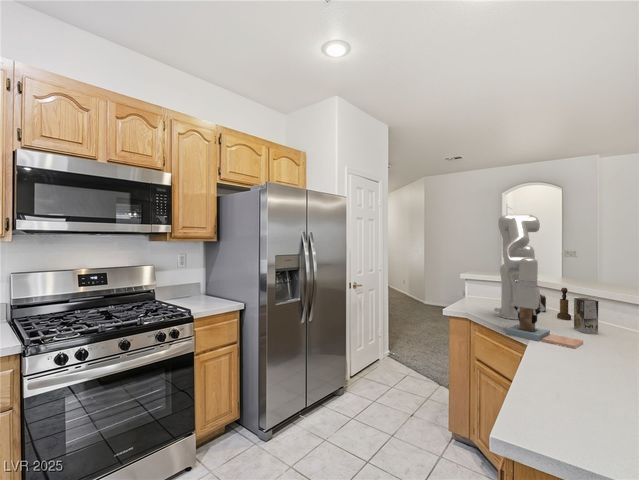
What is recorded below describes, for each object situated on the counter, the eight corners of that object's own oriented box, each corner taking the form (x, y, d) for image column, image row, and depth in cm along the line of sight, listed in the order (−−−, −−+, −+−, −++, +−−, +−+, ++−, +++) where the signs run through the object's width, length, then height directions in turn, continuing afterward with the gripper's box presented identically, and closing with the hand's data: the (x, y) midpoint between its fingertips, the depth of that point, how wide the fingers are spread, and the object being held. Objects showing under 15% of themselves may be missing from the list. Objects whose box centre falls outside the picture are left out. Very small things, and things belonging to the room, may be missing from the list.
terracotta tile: (542, 341, 145) (542, 338, 145) (551, 336, 153) (551, 334, 153) (574, 348, 136) (574, 345, 136) (583, 343, 143) (583, 340, 143)
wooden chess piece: (554, 317, 191) (554, 286, 191) (564, 317, 191) (564, 286, 191) (563, 320, 184) (563, 288, 184) (574, 320, 185) (574, 288, 184)
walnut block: (519, 329, 156) (519, 306, 156) (523, 327, 159) (523, 305, 159) (531, 331, 152) (531, 308, 152) (535, 329, 155) (535, 307, 155)
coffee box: (598, 334, 157) (599, 301, 157) (583, 333, 159) (584, 300, 158) (587, 329, 166) (587, 297, 166) (573, 328, 167) (573, 297, 167)
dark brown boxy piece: (525, 307, 218) (525, 280, 217) (545, 309, 212) (545, 282, 211) (525, 311, 204) (525, 283, 204) (546, 314, 198) (546, 285, 198)
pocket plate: (505, 333, 157) (505, 328, 157) (517, 329, 165) (517, 324, 165) (538, 341, 146) (538, 335, 146) (549, 335, 154) (549, 330, 154)
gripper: (505, 282, 160) (505, 319, 160) (545, 287, 146) (545, 327, 147) (512, 281, 164) (511, 316, 165) (551, 285, 151) (550, 324, 151)
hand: (527, 321), depth 156 cm, fingers closed on walnut block, 5 cm apart
